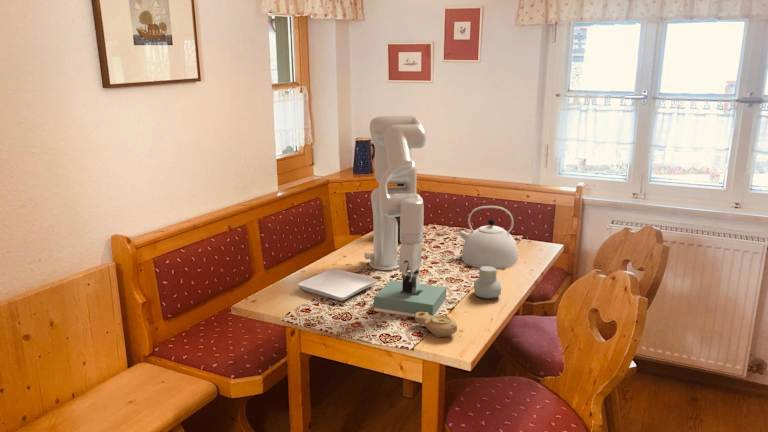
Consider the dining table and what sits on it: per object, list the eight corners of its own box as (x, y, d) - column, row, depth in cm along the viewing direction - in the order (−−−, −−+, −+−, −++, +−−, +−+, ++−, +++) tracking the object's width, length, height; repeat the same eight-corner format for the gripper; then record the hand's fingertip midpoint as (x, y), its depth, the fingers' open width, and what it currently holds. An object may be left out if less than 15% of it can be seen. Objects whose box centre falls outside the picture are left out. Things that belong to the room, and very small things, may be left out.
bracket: (403, 303, 209) (403, 275, 206) (406, 300, 211) (406, 272, 209) (415, 305, 207) (416, 276, 204) (418, 302, 210) (419, 274, 207)
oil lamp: (416, 321, 197) (416, 307, 196) (461, 327, 193) (462, 312, 192) (407, 335, 188) (407, 320, 186) (454, 342, 183) (454, 326, 182)
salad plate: (379, 287, 226) (379, 278, 226) (342, 306, 210) (342, 297, 209) (333, 275, 238) (333, 267, 237) (295, 293, 221) (295, 284, 220)
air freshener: (472, 289, 223) (473, 263, 221) (496, 289, 223) (497, 263, 221) (477, 301, 213) (478, 274, 210) (501, 301, 213) (502, 274, 210)
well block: (374, 310, 205) (374, 296, 204) (390, 293, 220) (390, 280, 219) (432, 319, 199) (433, 304, 197) (445, 301, 213) (446, 287, 212)
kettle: (454, 266, 248) (455, 211, 242) (458, 249, 269) (459, 198, 263) (518, 270, 243) (521, 214, 237) (517, 252, 265) (520, 200, 259)
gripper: (409, 228, 212) (408, 278, 217) (391, 243, 197) (391, 296, 201) (430, 230, 210) (429, 281, 214) (414, 245, 194) (413, 299, 199)
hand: (410, 288), depth 208 cm, fingers open, 6 cm apart
